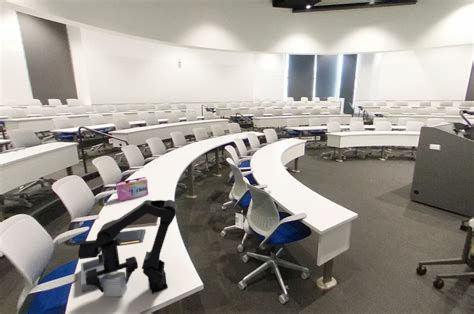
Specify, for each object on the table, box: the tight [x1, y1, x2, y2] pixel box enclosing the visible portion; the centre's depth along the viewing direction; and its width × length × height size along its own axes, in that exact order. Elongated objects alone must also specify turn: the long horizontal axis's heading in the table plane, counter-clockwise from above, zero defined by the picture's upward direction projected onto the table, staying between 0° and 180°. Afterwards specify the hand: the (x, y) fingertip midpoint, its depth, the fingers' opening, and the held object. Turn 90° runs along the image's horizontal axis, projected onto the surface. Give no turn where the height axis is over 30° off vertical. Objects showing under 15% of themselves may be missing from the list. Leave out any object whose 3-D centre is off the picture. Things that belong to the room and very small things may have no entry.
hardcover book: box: [126, 214, 159, 228], centre depth 163 cm, size 16×23×2 cm
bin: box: [80, 257, 119, 292], centre depth 113 cm, size 14×16×4 cm
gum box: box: [115, 176, 149, 202], centre depth 202 cm, size 24×8×14 cm, turn 126°
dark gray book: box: [114, 228, 146, 247], centre depth 143 cm, size 20×2×15 cm
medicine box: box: [101, 271, 128, 297], centre depth 102 cm, size 8×4×9 cm, turn 88°
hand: (115, 287), depth 102 cm, fingers closed on medicine box, 9 cm apart
